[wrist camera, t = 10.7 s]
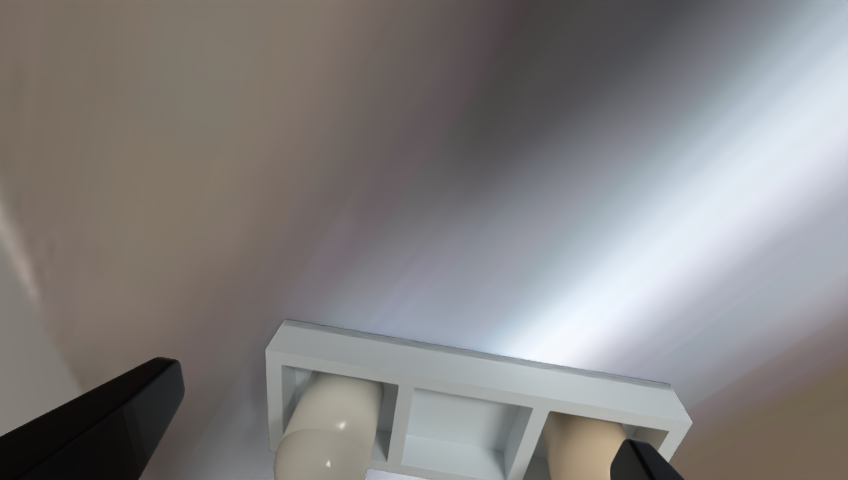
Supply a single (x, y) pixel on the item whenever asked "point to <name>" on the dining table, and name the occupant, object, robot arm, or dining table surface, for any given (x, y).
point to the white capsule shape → (331, 429)
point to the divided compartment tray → (463, 402)
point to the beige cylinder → (580, 446)
